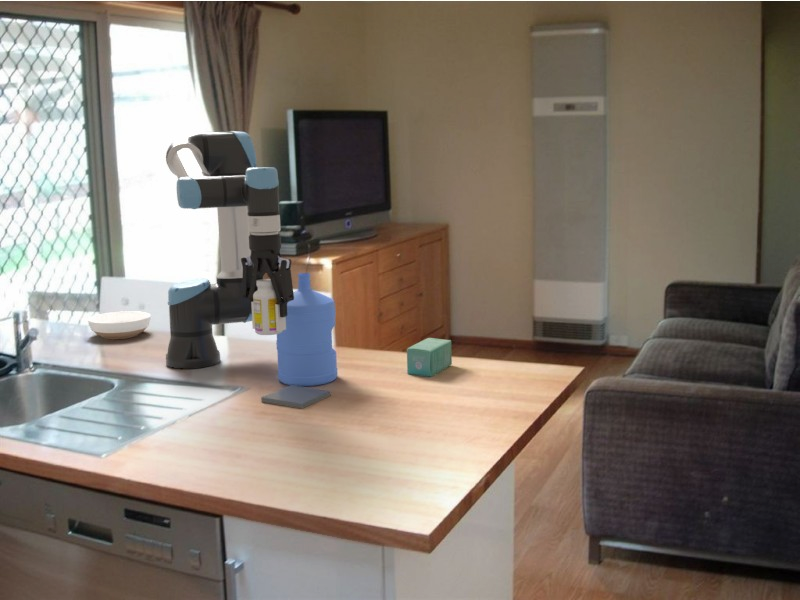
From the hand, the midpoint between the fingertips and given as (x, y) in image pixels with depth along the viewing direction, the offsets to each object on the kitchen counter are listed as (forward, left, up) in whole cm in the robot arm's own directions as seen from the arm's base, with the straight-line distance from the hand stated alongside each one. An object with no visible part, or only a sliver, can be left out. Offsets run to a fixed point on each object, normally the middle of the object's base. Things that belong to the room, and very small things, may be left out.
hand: (269, 328), depth 217 cm
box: (+21, +41, -18) cm, 50 cm away
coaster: (+5, +3, -18) cm, 19 cm away
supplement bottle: (0, 0, -1) cm, 1 cm away
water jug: (-3, +19, -18) cm, 26 cm away
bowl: (-90, +36, -18) cm, 99 cm away
